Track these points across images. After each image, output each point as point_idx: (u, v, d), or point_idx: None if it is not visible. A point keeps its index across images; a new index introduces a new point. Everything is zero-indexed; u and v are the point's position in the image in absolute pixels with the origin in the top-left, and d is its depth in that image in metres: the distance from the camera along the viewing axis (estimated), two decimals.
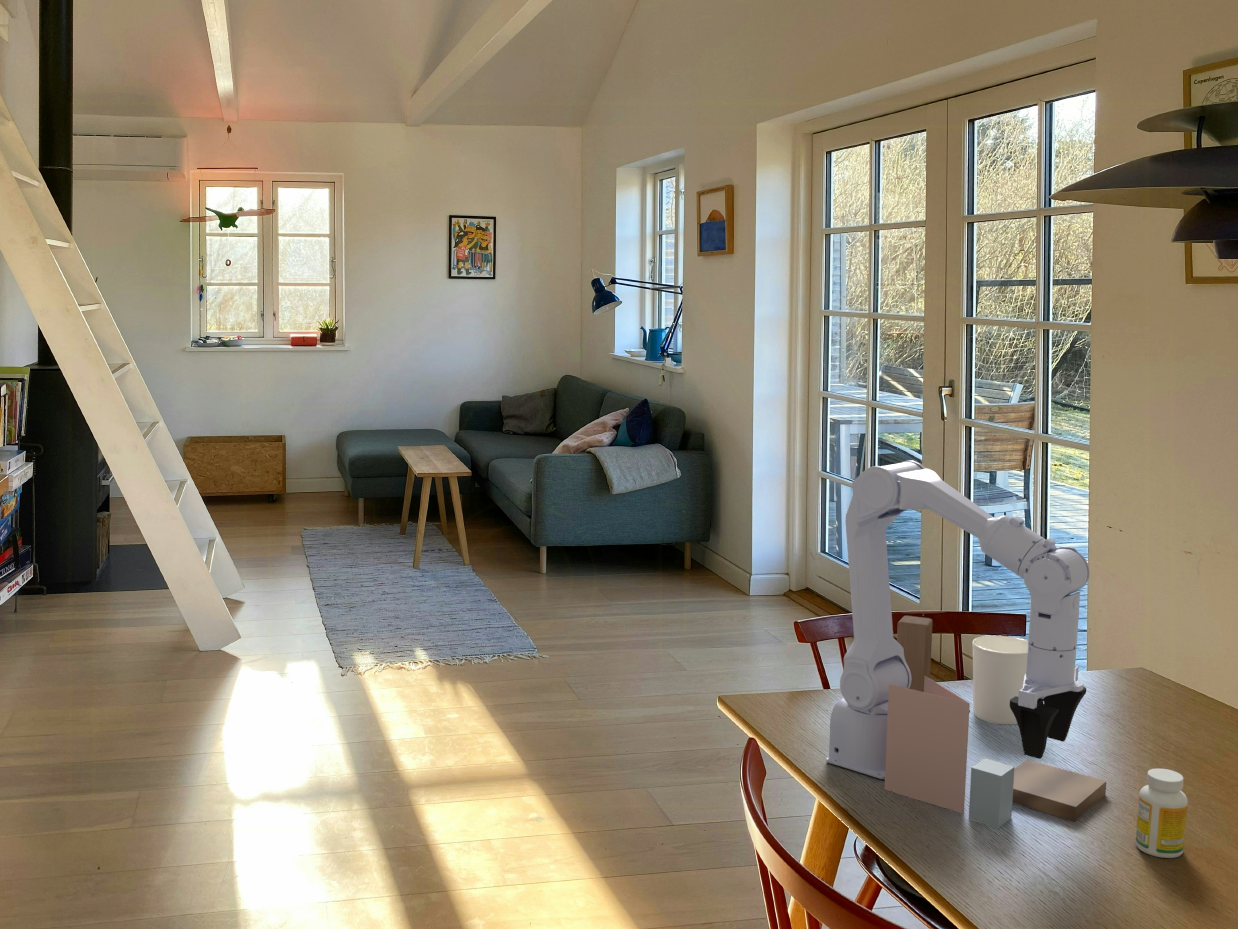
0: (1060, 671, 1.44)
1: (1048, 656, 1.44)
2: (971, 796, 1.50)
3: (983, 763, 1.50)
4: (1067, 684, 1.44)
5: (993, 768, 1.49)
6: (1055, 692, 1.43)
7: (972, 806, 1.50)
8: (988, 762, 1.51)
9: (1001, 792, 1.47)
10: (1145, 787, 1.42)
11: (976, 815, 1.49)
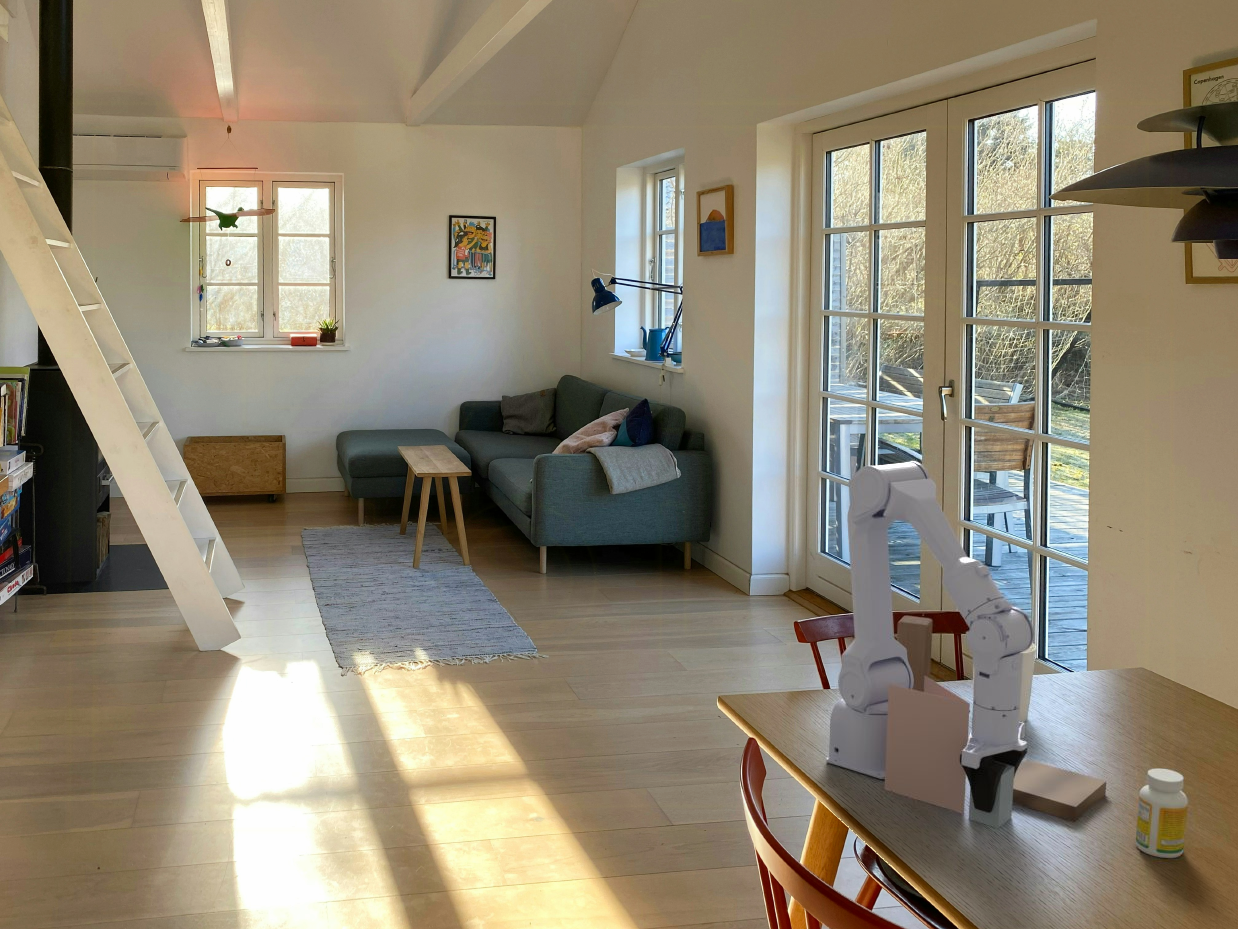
0: (1003, 731, 1.46)
1: (991, 716, 1.46)
2: (971, 796, 1.50)
3: None
4: (1010, 743, 1.46)
5: None
6: (998, 751, 1.45)
7: (972, 805, 1.50)
8: None
9: (1001, 792, 1.47)
10: (1145, 787, 1.42)
11: (976, 815, 1.49)
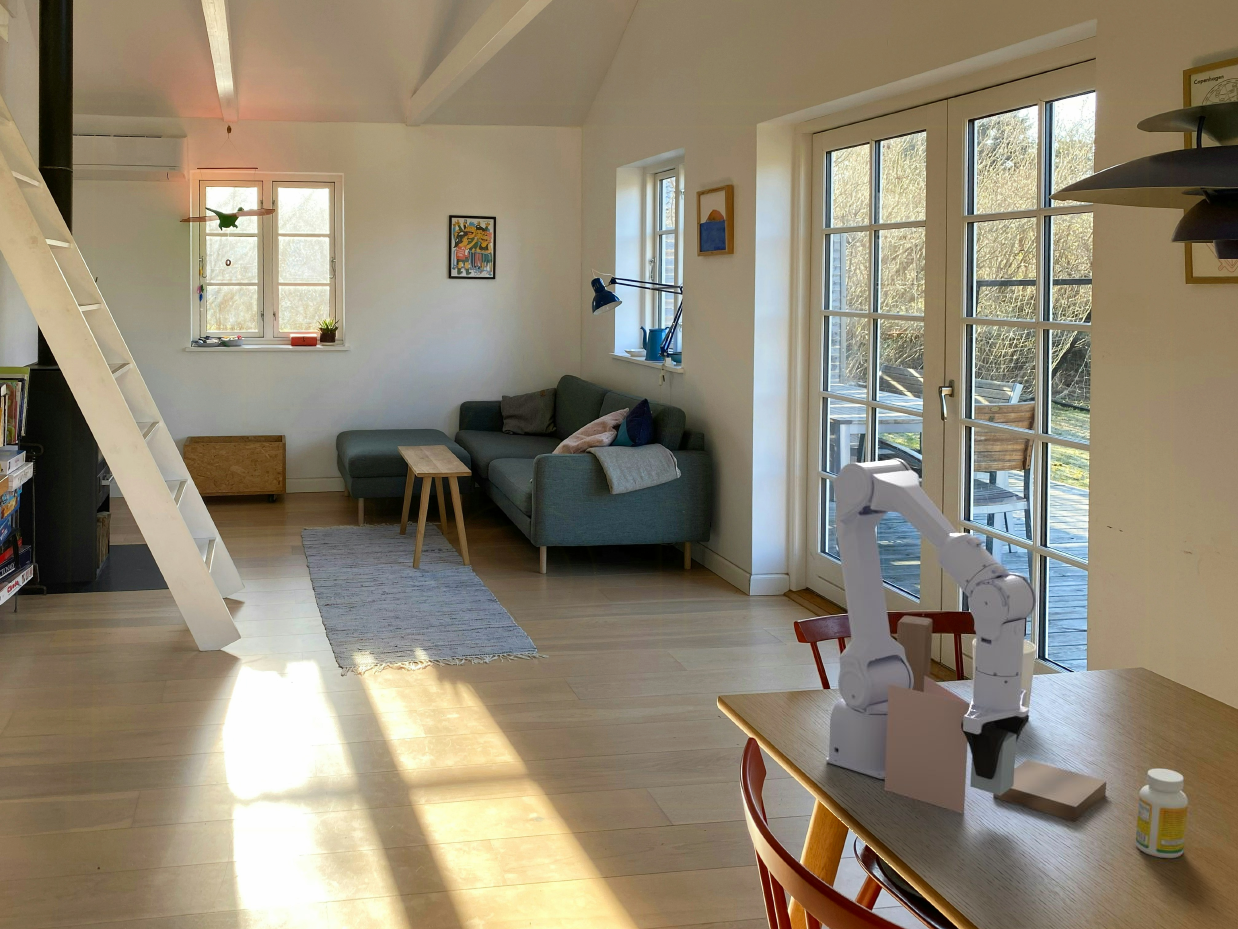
0: (1005, 697, 1.45)
1: (993, 681, 1.45)
2: (973, 763, 1.49)
3: None
4: (1012, 709, 1.45)
5: None
6: (1000, 717, 1.44)
7: (973, 773, 1.49)
8: None
9: (1003, 759, 1.47)
10: (1145, 787, 1.42)
11: (978, 782, 1.49)
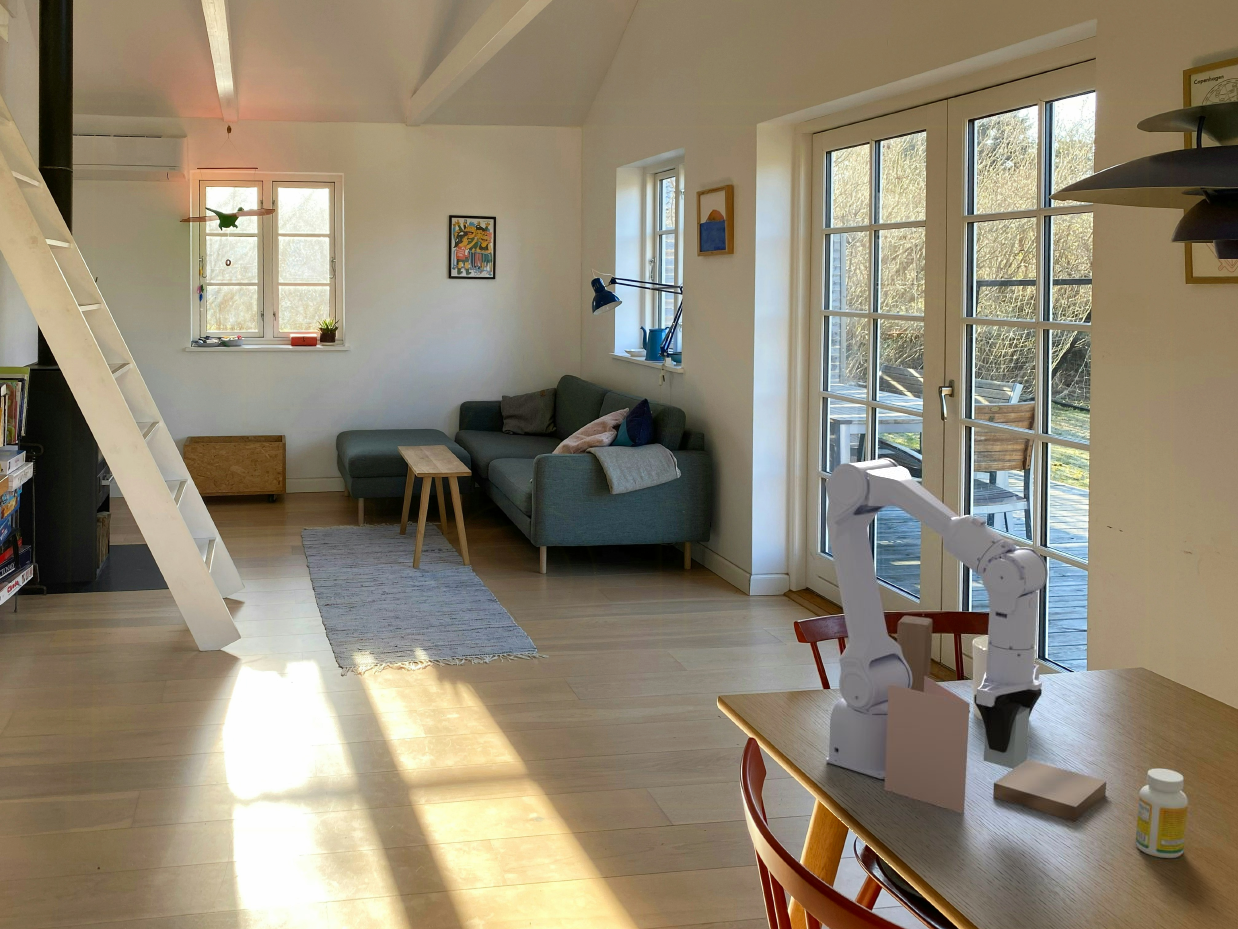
0: (1018, 670, 1.46)
1: (1006, 655, 1.46)
2: (986, 737, 1.50)
3: None
4: (1025, 682, 1.46)
5: None
6: (1013, 690, 1.45)
7: (987, 747, 1.50)
8: None
9: (1016, 732, 1.47)
10: (1145, 787, 1.42)
11: (991, 756, 1.50)
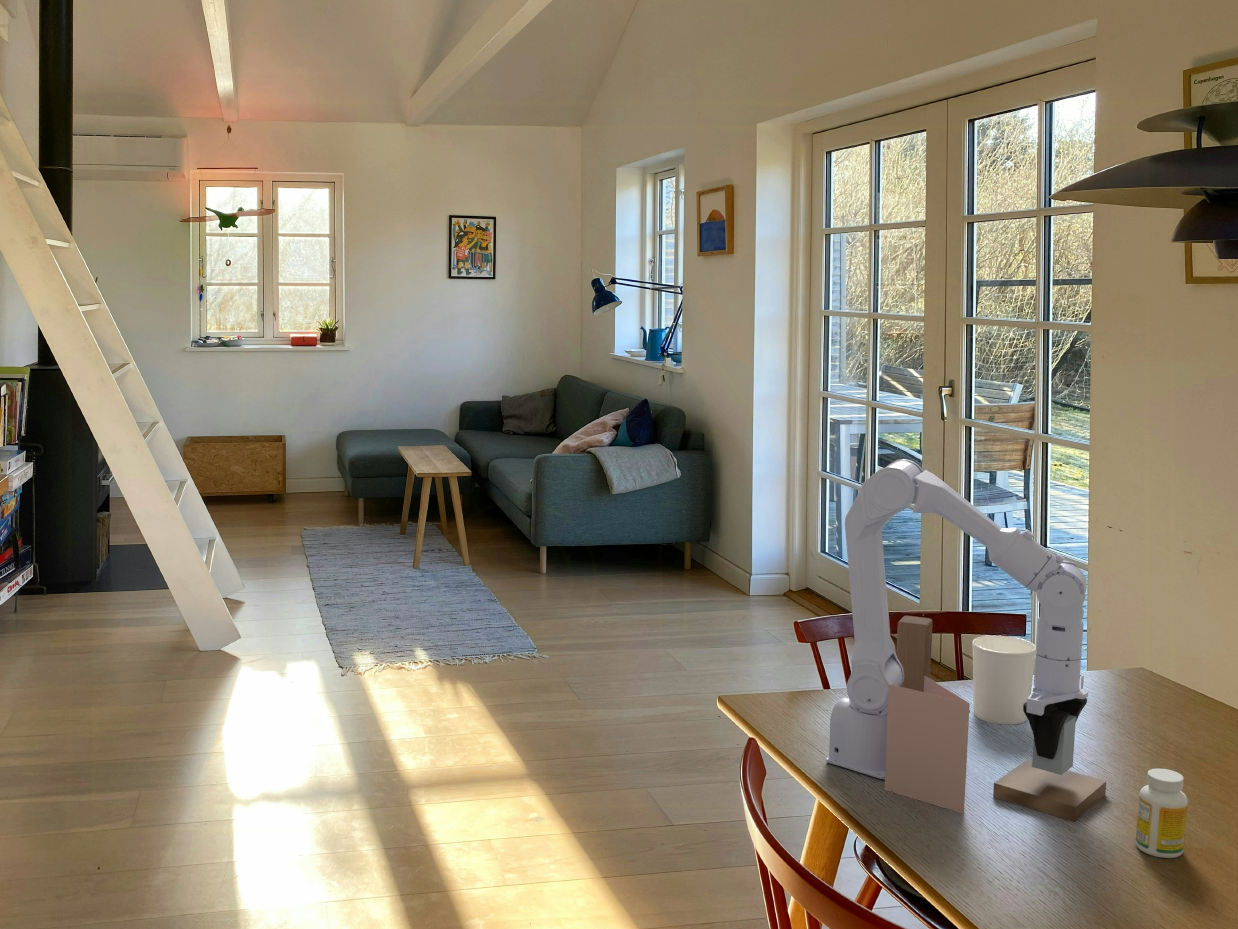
0: (1066, 680, 1.52)
1: (1054, 665, 1.52)
2: (1034, 745, 1.56)
3: None
4: (1073, 692, 1.52)
5: None
6: (1061, 700, 1.51)
7: (1035, 754, 1.56)
8: None
9: (1064, 740, 1.53)
10: (1145, 787, 1.42)
11: (1039, 763, 1.56)
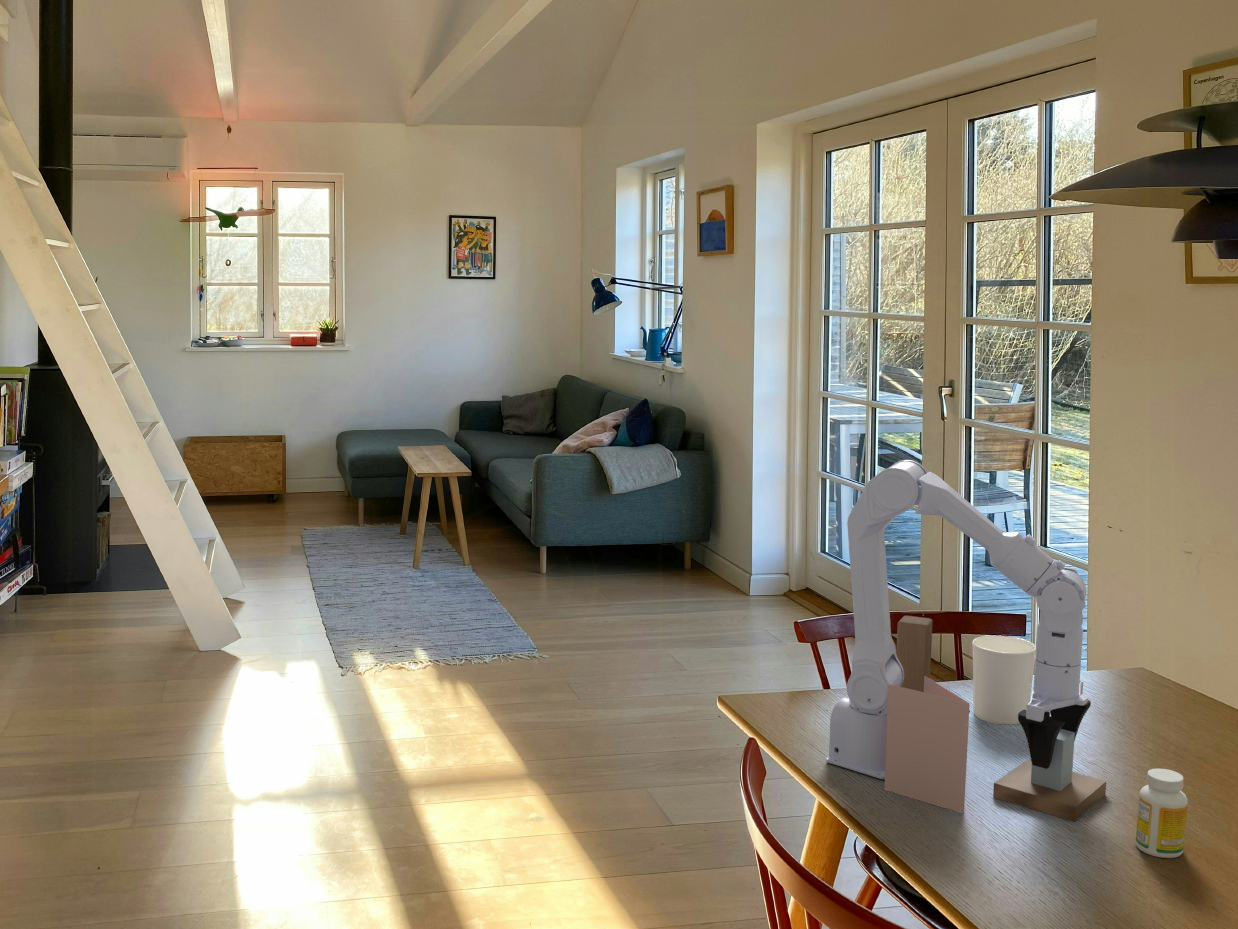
0: (1066, 686, 1.52)
1: (1054, 672, 1.52)
2: None
3: None
4: (1072, 698, 1.52)
5: None
6: (1061, 706, 1.51)
7: (1034, 770, 1.56)
8: None
9: (1063, 756, 1.54)
10: (1145, 787, 1.42)
11: (1038, 779, 1.56)
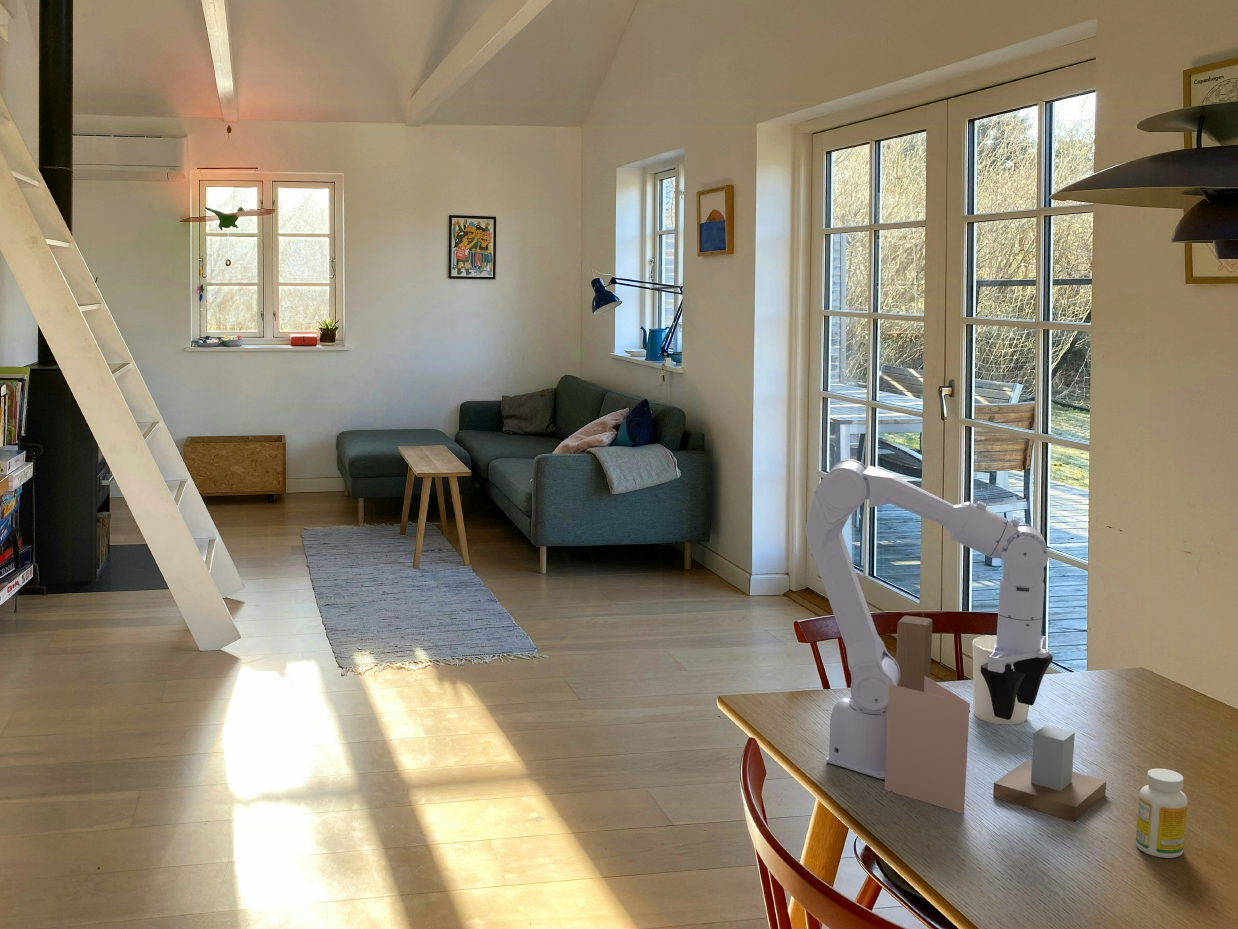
0: (1027, 639, 1.56)
1: (1016, 625, 1.56)
2: (1033, 761, 1.56)
3: (1044, 729, 1.57)
4: (1033, 651, 1.56)
5: (1054, 733, 1.55)
6: (1022, 658, 1.55)
7: (1034, 770, 1.56)
8: (1049, 728, 1.57)
9: (1063, 756, 1.54)
10: (1145, 787, 1.42)
11: (1038, 779, 1.56)
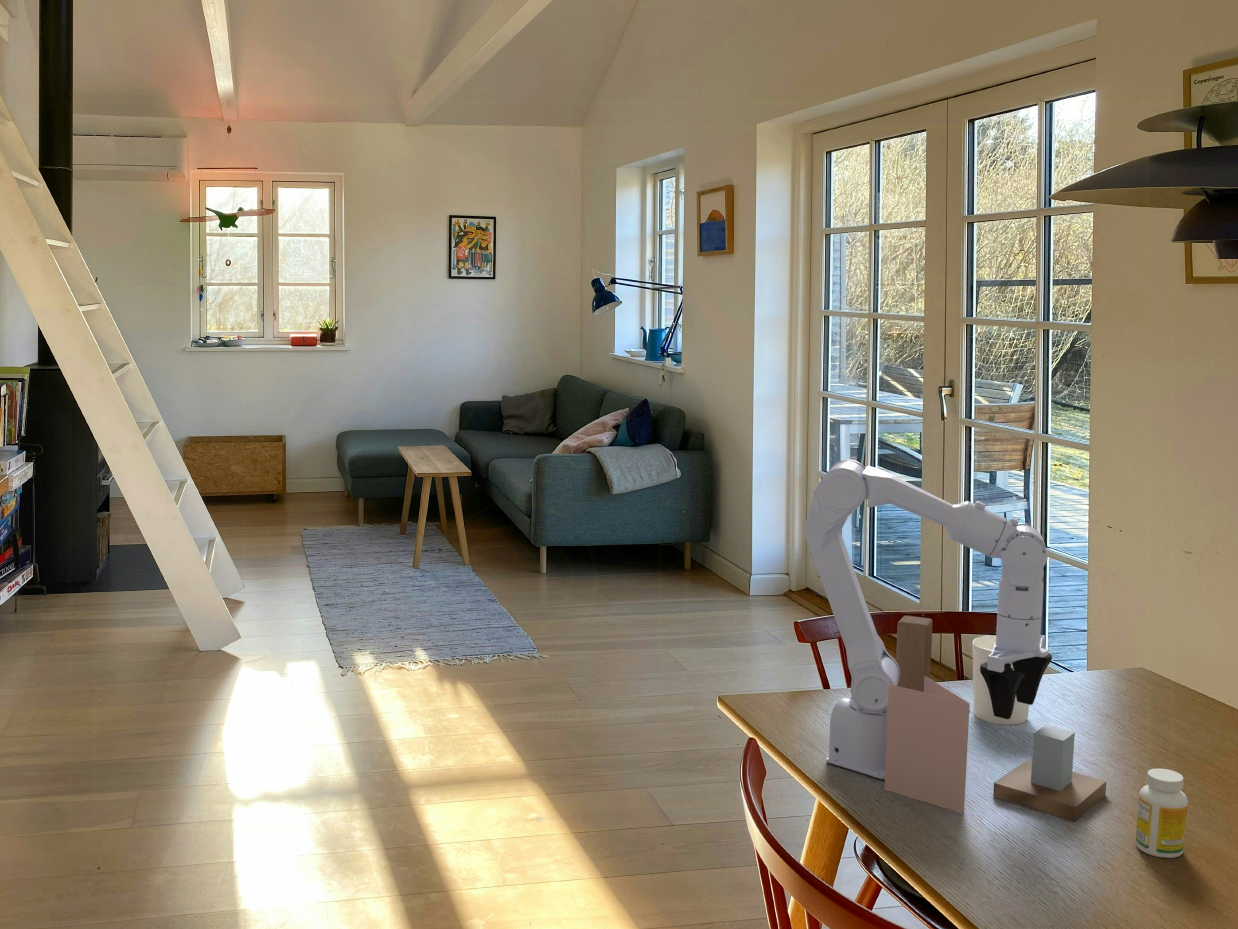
0: (1026, 639, 1.56)
1: (1015, 624, 1.56)
2: (1033, 761, 1.56)
3: (1044, 729, 1.57)
4: (1033, 650, 1.56)
5: (1054, 733, 1.55)
6: (1021, 657, 1.55)
7: (1034, 770, 1.56)
8: (1049, 728, 1.57)
9: (1063, 756, 1.54)
10: (1145, 787, 1.42)
11: (1038, 779, 1.56)
